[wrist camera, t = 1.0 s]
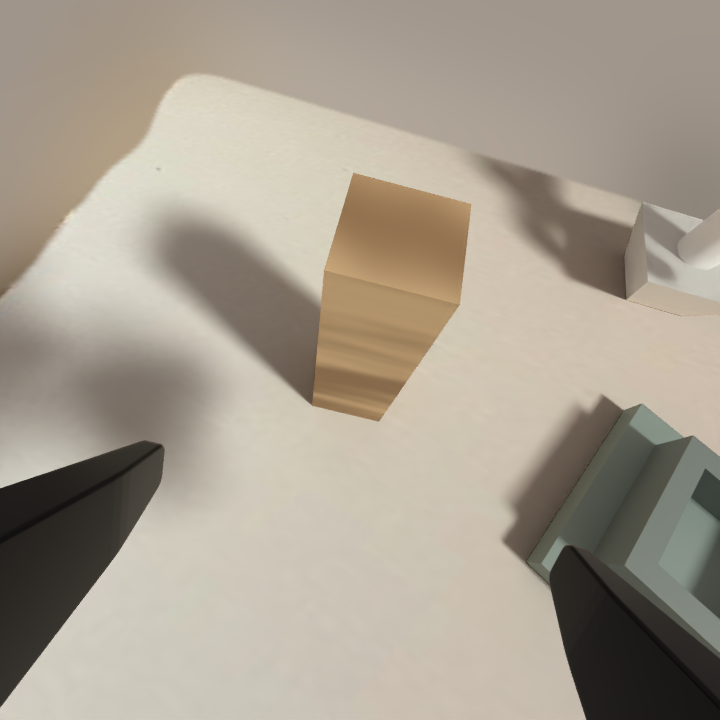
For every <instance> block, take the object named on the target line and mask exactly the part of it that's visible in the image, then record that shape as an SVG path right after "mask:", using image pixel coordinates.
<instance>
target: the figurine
mask: <svg viewBox="0 0 720 720" xmlns="http://www.w3.org/2000/svg"><path fill="white" fill-rule="evenodd" d="M624 260H625V282H626V300H628V301H632V302H635V303H638V304H642V305H645V306H648V307H652V308H655V309H658V310H662V311H665V312H669V313H672V314H675V315H679V316H700V315H720V209H718V210H717V211H716V212H715V213H713V214H712V215H711V216H709V217H708V218H707V219H705V220H701V219H698V218H695V217H691V216H688V215H685V214H681V213H678V212H675V211H671V210H668V209H665V208H661V207H658V206H655V205H652V204H648V203H645V202H642V203H641V206H640V209H639V212H638V215H637V218H636V221H635V224H634V227H633V230H632V233H631V236H630V239H629V242H628V246H627V249H626V252H625V255H624Z"/></svg>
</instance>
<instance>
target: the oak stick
mask: <svg viewBox="0 0 720 720" xmlns="http://www.w3.org/2000/svg"><path fill="white" fill-rule="evenodd" d="M470 211H471V204H469V203H465V202H461V201H457V200H454V199H450V198H446V197H442V196H438V195H435V194H431V193H427V192H423V191H420V190H416V189H412V188H408V187H404V186H401V185H397V184H393V183H389V182H386V181H382V180H378V179H374V178H371V177H367V176H363V175H359V174H355V173H353V176H352V179H351V183H350V186H349V189H348V193H347V196H346V199H345V203H344V206H343V209H342V213H341V216H340V219H339V223H338V226H337V229H336V233H335V236H334V239H333V243H332V246H331V249H330V253H329V256H328V259H327V263H326V266H325V269H324V278H323V289H322V300H321V311H320V322H319V334H318V345H317V356H316V367H315V378H314V389H313V400H312V406H316V407H321V408H325V409H329V410H333V411H337V412H341V413H346V414H350V415H354V416H358V417H362V418H366V419H371V420H375V421H380V419H381V418H382V416H383V415H384V413H385V412H386V411H387V409H388V408H389V406H390V405H391V403H392V402H393V400H394V399H395V398H396V396H397V395H398V393H399V392H400V390H401V389H402V387H403V386H404V385H405V383H406V382H407V380H408V379H409V377H410V376H411V374H412V373H413V371H414V370H415V369H416V367H417V366H418V364H419V363H420V361H421V360H422V358H423V357H424V356H425V354H426V353H427V351H428V350H429V348H430V347H431V345H432V344H433V343H434V341H435V340H436V338H437V337H438V335H439V334H440V332H441V331H442V330H443V328H444V327H445V325H446V324H447V322H448V321H449V319H450V318H451V316H452V315H453V314H454V312H455V311H456V309H457V308H458V306H459V305H460V297H461V289H462V280H463V272H464V263H465V254H466V246H467V237H468V228H469V220H470Z"/></svg>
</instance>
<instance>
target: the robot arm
mask: <svg viewBox="0 0 720 720" xmlns="http://www.w3.org/2000/svg"><path fill="white" fill-rule="evenodd" d="M164 451H165V450H164V447H163V445H162V444H158V443H154V442H150V441H141V442H138V443H135V444H132V445H129V446H126V447H123V448H120V449H117V450H114V451H111V452H108V453H105V454H102V455H99V456H96V457H93V458H90V459H87V460H84V461H81V462H78V463H75V464H72V465H69V466H66V467H63V468H60V469H57V470H54V471H51V472H48V473H45V474H42V475H39V476H36V477H33V478H30V479H27V480H24V481H21V482H18V483H15V484H12V485H9V486H6V487H3V488H0V707H1V706H2V705H3V703H4V702H5V701H6V699H7V698H8V697H9V695H10V694H11V693H12V691H13V690H14V689H15V688H16V686H17V685H18V684H19V682H20V681H21V680H22V678H23V677H24V676H25V674H26V673H27V672H28V670H29V669H30V668H31V667H32V665H33V664H34V663H35V661H36V660H37V659H38V657H39V656H40V655H41V653H42V652H43V651H44V649H45V648H46V647H47V646H48V644H49V643H50V642H51V640H52V639H53V638H54V636H55V635H56V634H57V632H58V631H59V630H60V628H61V627H62V626H63V625H64V623H65V622H66V621H67V619H68V618H69V617H70V615H71V614H72V613H73V611H74V610H75V609H76V607H77V606H78V605H79V604H80V602H81V601H82V600H83V598H84V597H85V596H86V594H87V593H88V592H89V590H90V589H91V588H92V586H93V585H94V584H95V583H96V581H97V580H98V579H99V577H100V576H101V575H102V573H103V572H104V571H105V569H106V568H107V567H108V565H109V564H110V563H111V561H112V560H113V559H114V557H115V556H116V555H117V553H118V552H119V550H120V549H121V547H122V546H123V544H124V542H125V541H126V539H127V538H128V536H129V534H130V533H131V531H132V529H133V528H134V526H135V525H136V523H137V521H138V520H139V518H140V516H141V515H142V513H143V511H144V510H145V508H146V507H147V505H148V503H149V502H150V500H151V498H152V497H153V495H154V493H155V492H156V490H157V489H158V487H159V485H160V482H161V479H162V471H163V462H164ZM549 583H550V588H551V592H552V597H553V601H554V606H555V610H556V614H557V619H558V623H559V628H560V632H561V636H562V641H563V645H564V649H565V653H566V657H567V660H568V664H569V667H570V670H571V674H572V677H573V680H574V683H575V686H576V689H577V692H578V695H579V698H580V702H581V705H582V708H583V711H584V714H585V717H586V720H720V658H719V657H718V656H716V655H715V654H714V653H713V652H712V651H710V650H709V649H708V648H707V647H705V646H704V645H703V644H702V643H701V642H699V641H698V640H697V639H696V638H695V637H693V636H692V635H691V634H690V633H688V632H687V631H686V630H685V629H684V628H682V627H681V626H680V625H679V624H677V623H676V622H675V621H674V620H673V619H671V618H670V617H669V616H668V615H667V614H665V613H664V612H663V611H662V610H660V609H659V608H658V607H657V606H656V605H654V604H653V603H652V602H651V601H649V600H648V599H647V598H646V597H645V596H643V595H642V594H641V593H640V592H639V591H637V590H636V589H635V588H634V587H632V586H631V585H630V584H629V583H628V582H626V581H625V580H624V579H623V578H621V577H620V576H619V575H618V574H617V573H615V572H614V571H613V570H612V569H611V568H609V567H608V566H607V565H606V564H604V563H603V562H602V561H601V560H600V559H598V558H597V557H596V556H595V555H593V554H592V553H591V552H590V551H589V550H587V549H585V548H582V547H578V546H574V545H570V544H569V545H565V546H564V547H563V548H562V550H561V552H560V554H559V556H558V557H557V559H556V561H555V563H554V565H553V567H552V569H551V571H550V574H549Z"/></svg>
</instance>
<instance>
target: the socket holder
mask: <svg viewBox="0 0 720 720" xmlns="http://www.w3.org/2000/svg"><path fill="white" fill-rule="evenodd" d="M569 544H570V545H574V546H578V547H582V548H585V549H587V550H589V551H590V552H591V553H592V554H593V555H595V556H596V557H597V558H598V559H600V560H601V561H602V562H603V563H604V564H606V565H607V566H608V567H609V568H611V569H612V570H613V571H614V572H615V573H617V574H618V575H619V576H620V577H621V578H623V579H624V580H625V581H626V582H628V583H629V584H630V585H631V586H632V587H634V588H635V589H636V590H637V591H639V592H640V593H641V594H642V595H643V596H645V597H646V598H647V599H648V600H649V601H651V602H652V603H653V604H654V605H656V606H657V607H658V608H659V609H660V610H662V611H663V612H664V613H665V614H667V615H668V616H669V617H670V618H671V619H673V620H674V621H675V622H676V623H677V624H679V625H680V626H681V627H682V628H684V629H685V630H686V631H687V632H688V633H690V634H691V635H692V636H693V637H695V638H696V639H697V640H698V641H699V642H701V643H702V644H703V645H704V646H705V647H707V648H708V649H709V650H710V651H712V652H713V653H714V654H715V655H716V656H718V657H719V658H720V457H719V456H718V455H717V454H716V453H715V452H713V451H712V450H711V449H710V448H708V447H707V446H706V445H705V444H703V443H702V442H701V441H700V440H698V439H697V438H696V437H695V436H689V437H685V438H684V437H683V436H682V435H680V434H679V433H678V432H677V431H675V430H674V429H673V428H672V427H670V426H669V425H668V424H667V423H666V422H664V421H663V420H662V419H661V418H659V417H658V416H657V415H656V414H654V413H653V412H652V411H651V410H650V409H648V408H647V407H646V406H645V405H643V404H639V405H637V406H634V407H631V408H629V409H626V410H624V411H623V413H622V414H621V416H620V417H619V419H618V420H617V422H616V424H615V425H614V427H613V428H612V430H611V431H610V433H609V434H608V436H607V437H606V439H605V440H604V442H603V444H602V445H601V447H600V448H599V450H598V451H597V453H596V454H595V456H594V457H593V459H592V461H591V462H590V464H589V465H588V467H587V468H586V470H585V471H584V473H583V474H582V476H581V478H580V479H579V481H578V482H577V484H576V485H575V487H574V488H573V490H572V491H571V493H570V495H569V496H568V498H567V499H566V501H565V502H564V504H563V505H562V507H561V508H560V510H559V511H558V513H557V515H556V516H555V518H554V519H553V521H552V522H551V524H550V525H549V527H548V528H547V530H546V532H545V533H544V535H543V536H542V538H541V539H540V541H539V542H538V544H537V545H536V547H535V549H534V550H533V552H532V553H531V555H530V556H529V558H528V559H527V561H526V562H527V563H528V564H529V565H530V566H531V567H532V568H533V569H534V570H535V571H536V572H537V573H538V574H539V575H540V576H541V577H542V578H543V579H544V580H545V581H546V582H547V583H548V584H549V585H550V583H549V574H550V571H551V569H552V567H553V565H554V563H555V561H556V559H557V557H558V556H559V554H560V552H561V550H562V548H563V547H564V546H565V545H569Z"/></svg>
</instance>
